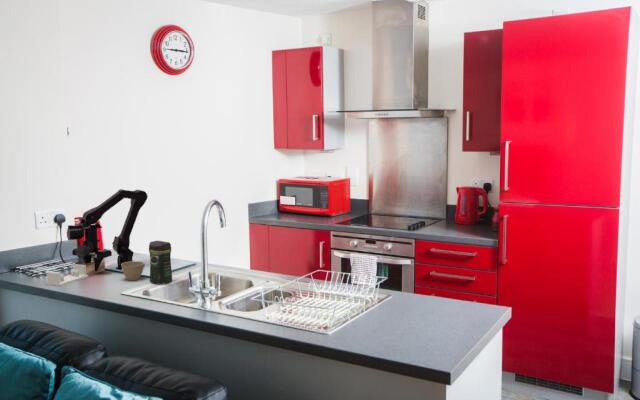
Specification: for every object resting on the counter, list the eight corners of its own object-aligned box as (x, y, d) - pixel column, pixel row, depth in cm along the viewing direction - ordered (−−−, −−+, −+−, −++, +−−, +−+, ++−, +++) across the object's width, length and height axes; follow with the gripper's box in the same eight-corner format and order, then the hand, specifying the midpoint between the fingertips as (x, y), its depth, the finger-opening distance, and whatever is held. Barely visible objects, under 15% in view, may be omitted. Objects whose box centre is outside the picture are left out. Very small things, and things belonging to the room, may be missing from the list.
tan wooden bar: (104, 270, 292) (104, 261, 291) (87, 275, 280) (86, 266, 280) (98, 269, 293) (97, 260, 292) (80, 275, 282) (79, 265, 281)
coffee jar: (175, 281, 270) (174, 240, 268) (161, 285, 264) (160, 243, 261) (160, 278, 276) (159, 238, 273) (146, 282, 269) (145, 241, 267)
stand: (88, 277, 278) (87, 265, 278) (60, 286, 262) (59, 273, 262) (74, 275, 281) (74, 263, 280) (46, 284, 265) (45, 272, 265)
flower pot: (126, 283, 268) (126, 267, 267) (118, 278, 276) (117, 263, 275) (148, 279, 274) (147, 264, 273) (139, 275, 282) (138, 260, 281)
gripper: (62, 239, 280) (64, 272, 282) (95, 242, 274) (96, 276, 276) (80, 235, 291) (81, 267, 293) (111, 238, 284) (113, 270, 286)
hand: (92, 270), depth 286 cm, fingers closed on tan wooden bar, 4 cm apart
